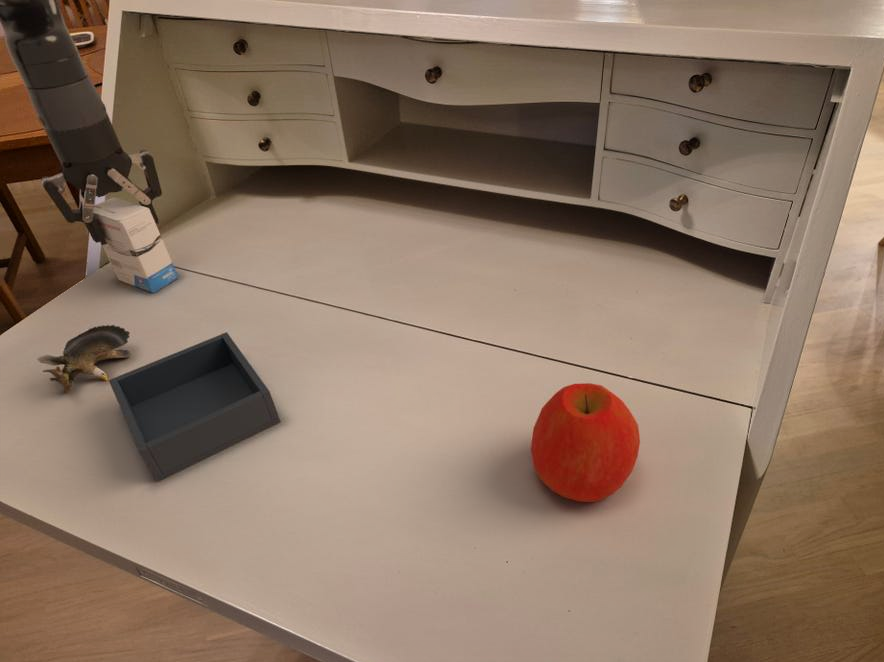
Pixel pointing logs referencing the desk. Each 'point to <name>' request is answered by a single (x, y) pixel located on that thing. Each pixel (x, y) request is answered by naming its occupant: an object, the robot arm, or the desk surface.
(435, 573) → the desk surface
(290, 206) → the desk surface
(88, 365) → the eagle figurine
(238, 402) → the tote
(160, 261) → the ink box
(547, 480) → the apple
